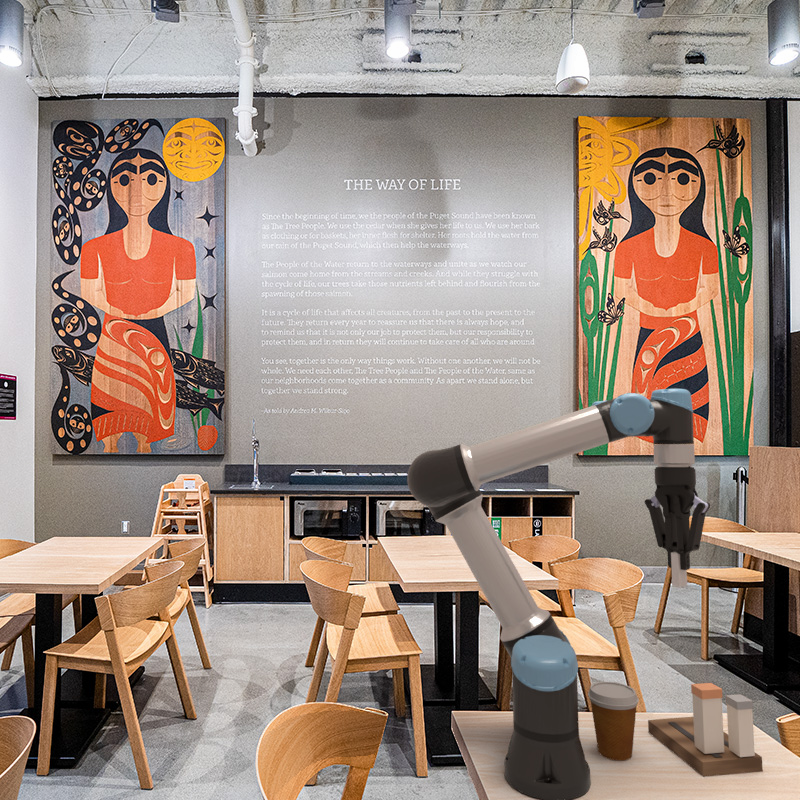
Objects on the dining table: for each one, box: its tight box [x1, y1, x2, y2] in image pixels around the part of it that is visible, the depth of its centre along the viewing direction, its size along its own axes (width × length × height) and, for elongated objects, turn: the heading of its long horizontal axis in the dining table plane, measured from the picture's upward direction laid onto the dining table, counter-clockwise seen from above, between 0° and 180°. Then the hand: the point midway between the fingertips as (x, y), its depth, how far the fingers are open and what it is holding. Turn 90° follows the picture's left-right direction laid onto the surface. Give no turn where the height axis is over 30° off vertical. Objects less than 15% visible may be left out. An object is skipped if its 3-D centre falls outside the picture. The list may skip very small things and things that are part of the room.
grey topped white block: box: [725, 694, 756, 757], centre depth 115 cm, size 3×3×10 cm
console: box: [647, 716, 764, 777], centre depth 121 cm, size 18×12×4 cm, turn 9°
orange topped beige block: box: [690, 682, 724, 754], centre depth 116 cm, size 3×4×11 cm
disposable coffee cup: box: [587, 681, 640, 762], centre depth 121 cm, size 10×10×12 cm
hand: (679, 585), depth 121 cm, fingers closed
